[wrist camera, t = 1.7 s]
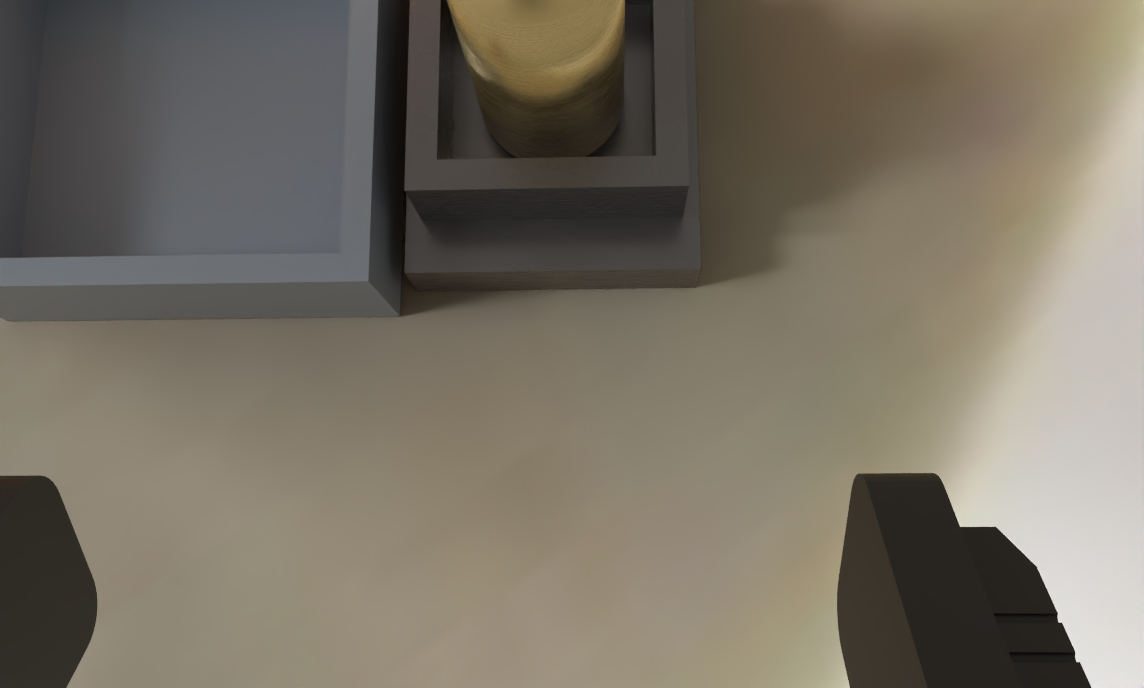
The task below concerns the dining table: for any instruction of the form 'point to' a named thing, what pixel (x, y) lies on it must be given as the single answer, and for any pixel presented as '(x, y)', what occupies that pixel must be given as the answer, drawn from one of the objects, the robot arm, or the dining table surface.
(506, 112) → the cylinder
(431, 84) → the crank housing
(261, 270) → the tray
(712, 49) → the dining table surface
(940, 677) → the robot arm
